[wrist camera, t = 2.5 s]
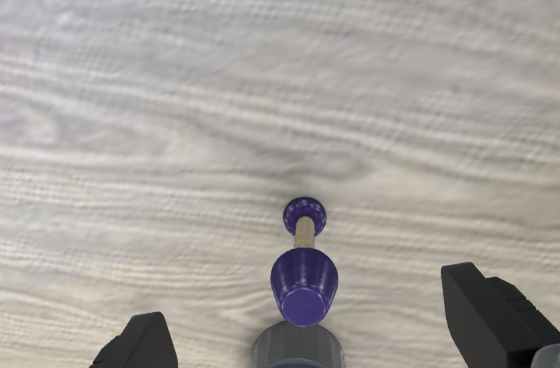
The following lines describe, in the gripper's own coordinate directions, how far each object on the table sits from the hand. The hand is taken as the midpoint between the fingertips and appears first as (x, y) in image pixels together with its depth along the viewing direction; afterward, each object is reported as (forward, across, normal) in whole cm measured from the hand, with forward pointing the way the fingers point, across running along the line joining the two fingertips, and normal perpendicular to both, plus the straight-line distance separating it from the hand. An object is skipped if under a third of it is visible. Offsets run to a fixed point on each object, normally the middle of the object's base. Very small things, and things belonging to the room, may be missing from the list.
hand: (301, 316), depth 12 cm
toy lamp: (+28, +1, +7) cm, 29 cm away
